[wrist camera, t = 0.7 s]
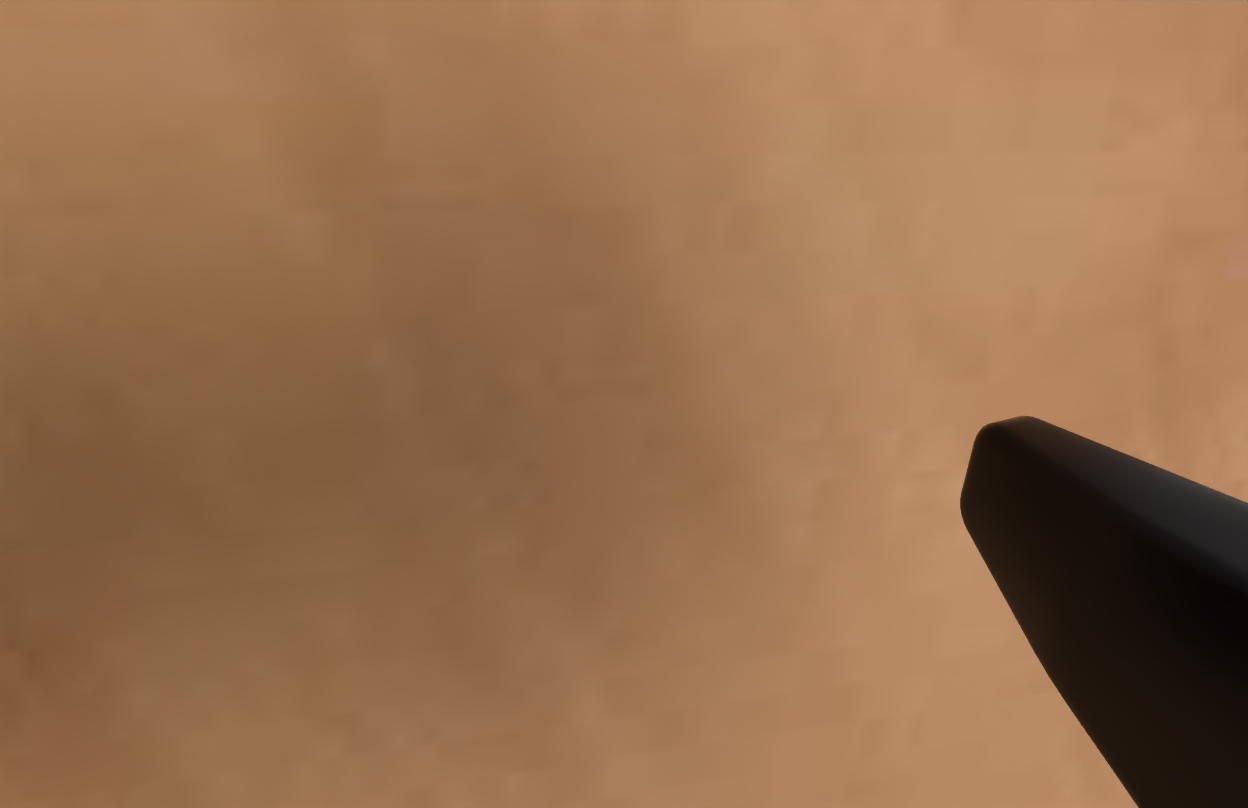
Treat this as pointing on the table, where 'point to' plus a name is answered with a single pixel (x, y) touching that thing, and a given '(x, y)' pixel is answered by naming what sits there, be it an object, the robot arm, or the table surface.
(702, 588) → the table surface
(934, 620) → the table surface
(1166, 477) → the robot arm
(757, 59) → the table surface
